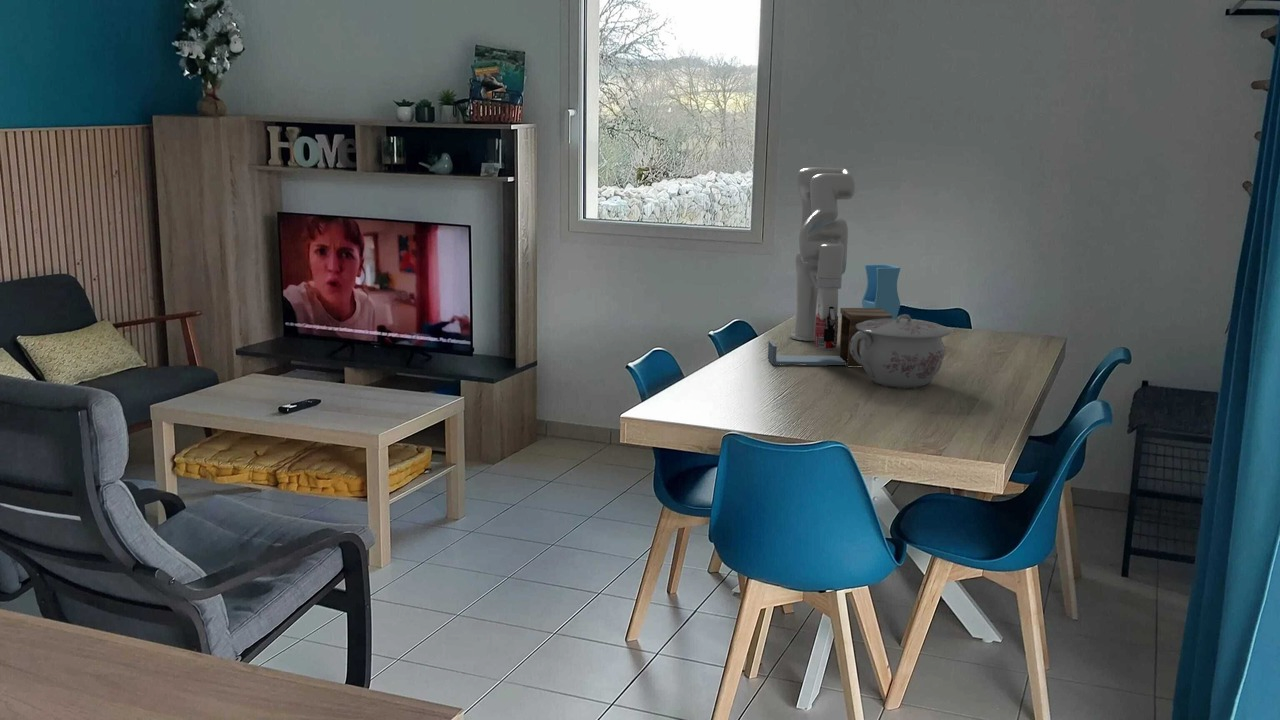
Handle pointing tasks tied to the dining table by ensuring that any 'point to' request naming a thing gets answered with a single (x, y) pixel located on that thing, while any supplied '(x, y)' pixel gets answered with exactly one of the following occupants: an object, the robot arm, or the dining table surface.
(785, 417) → the dining table surface
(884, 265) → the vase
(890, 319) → the chamber pot
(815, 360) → the blue-grey l-shaped bracket
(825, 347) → the soda can
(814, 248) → the robot arm
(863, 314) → the open wooden box
